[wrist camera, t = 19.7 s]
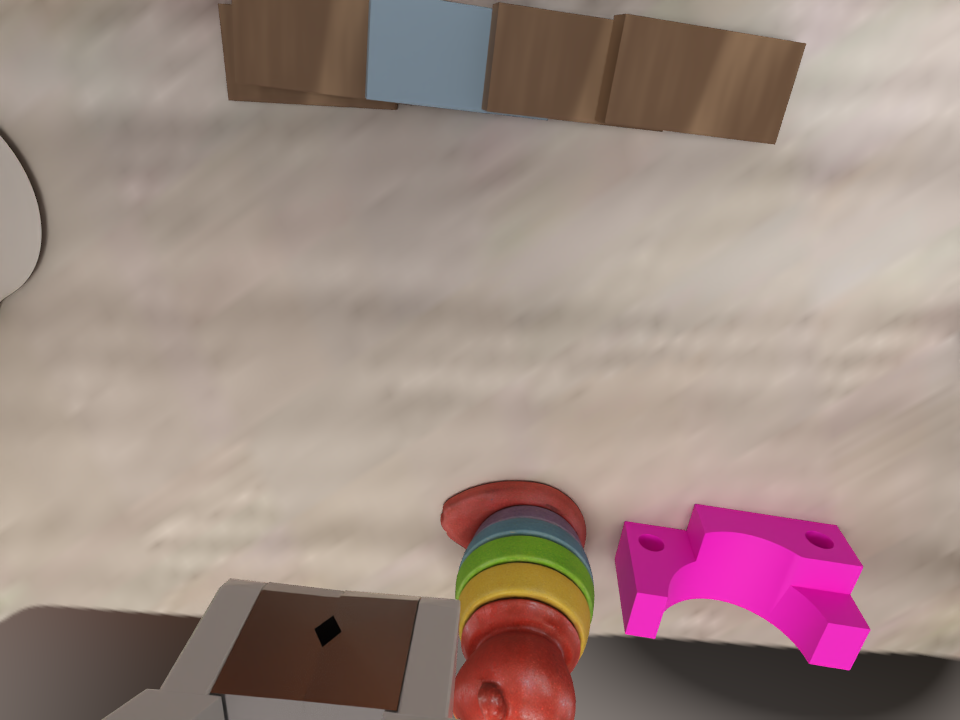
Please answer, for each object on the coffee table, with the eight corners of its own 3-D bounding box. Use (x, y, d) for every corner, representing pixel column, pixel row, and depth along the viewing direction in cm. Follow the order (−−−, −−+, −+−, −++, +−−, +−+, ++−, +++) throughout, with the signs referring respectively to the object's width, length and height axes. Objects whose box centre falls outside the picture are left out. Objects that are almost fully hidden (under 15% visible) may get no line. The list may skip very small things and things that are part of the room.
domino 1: (400, 108, 38) (240, 99, 39) (400, 14, 36) (231, 6, 37) (394, 109, 37) (228, 100, 37) (394, 11, 35) (218, 3, 35)
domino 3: (539, 117, 37) (365, 97, 34) (553, 21, 35) (369, -9, 32) (547, 120, 35) (366, 99, 33) (563, 19, 33) (371, -11, 31)
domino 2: (416, 103, 36) (247, 82, 37) (423, 5, 34) (244, -17, 35) (411, 105, 35) (235, 82, 35) (417, 2, 33) (230, -21, 33)
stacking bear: (431, 504, 49) (373, 716, 33) (544, 451, 46) (543, 654, 30) (503, 599, 52) (484, 834, 36) (614, 554, 49) (647, 789, 33)
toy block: (835, 523, 46) (885, 600, 39) (807, 587, 49) (849, 670, 42) (631, 492, 47) (645, 562, 40) (614, 557, 49) (625, 633, 43)
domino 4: (650, 128, 36) (481, 109, 34) (671, 31, 34) (492, 4, 32) (662, 131, 35) (486, 111, 33) (685, 30, 33) (499, 2, 31)
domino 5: (758, 140, 36) (594, 119, 34) (787, 43, 34) (614, 15, 32) (775, 144, 35) (604, 122, 33) (806, 43, 33) (626, 13, 31)
